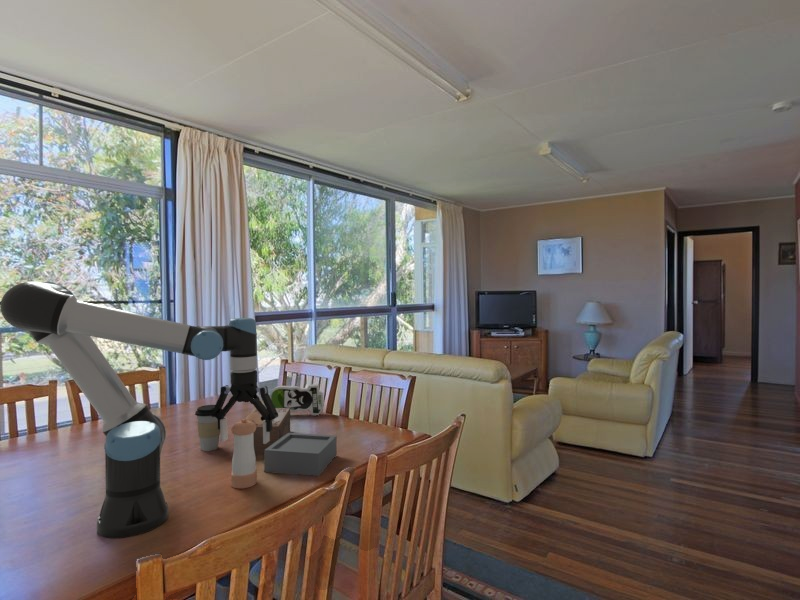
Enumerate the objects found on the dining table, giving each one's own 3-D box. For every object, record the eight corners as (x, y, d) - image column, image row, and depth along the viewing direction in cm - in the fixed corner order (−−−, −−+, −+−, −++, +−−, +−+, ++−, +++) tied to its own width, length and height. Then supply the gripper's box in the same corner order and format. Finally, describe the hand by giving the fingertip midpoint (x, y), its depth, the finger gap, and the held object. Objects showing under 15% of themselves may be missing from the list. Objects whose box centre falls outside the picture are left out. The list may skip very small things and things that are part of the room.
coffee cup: (213, 453, 159) (212, 411, 159) (189, 451, 161) (189, 409, 161) (228, 445, 169) (228, 404, 168) (205, 443, 170) (205, 403, 170)
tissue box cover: (278, 454, 160) (278, 426, 160) (236, 455, 158) (236, 427, 158) (290, 432, 185) (290, 407, 185) (254, 433, 184) (254, 408, 184)
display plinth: (318, 476, 140) (318, 453, 140) (264, 472, 143) (264, 450, 143) (336, 455, 158) (336, 435, 158) (287, 452, 161) (287, 432, 161)
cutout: (325, 385, 213) (271, 381, 210) (325, 386, 210) (270, 382, 208) (323, 417, 213) (268, 414, 211) (322, 418, 210) (267, 415, 208)
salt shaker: (262, 481, 136) (261, 418, 136) (242, 490, 130) (242, 424, 129) (245, 476, 140) (245, 414, 139) (225, 485, 133) (225, 420, 133)
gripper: (288, 368, 136) (289, 439, 136) (212, 367, 140) (213, 435, 140) (277, 373, 128) (278, 447, 129) (197, 371, 133) (199, 443, 133)
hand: (245, 441), depth 135 cm, fingers open, 13 cm apart
